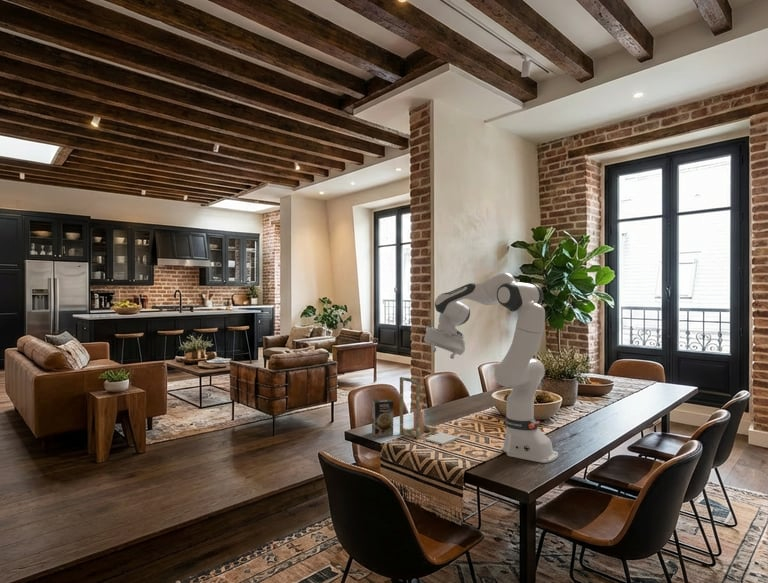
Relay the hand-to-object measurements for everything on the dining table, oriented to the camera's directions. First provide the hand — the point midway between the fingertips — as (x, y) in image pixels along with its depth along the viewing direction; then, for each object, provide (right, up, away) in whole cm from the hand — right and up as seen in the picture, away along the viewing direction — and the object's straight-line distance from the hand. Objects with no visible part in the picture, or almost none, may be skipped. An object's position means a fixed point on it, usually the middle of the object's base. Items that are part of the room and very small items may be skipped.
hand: (443, 354), depth 220 cm
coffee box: (-29, -38, 0) cm, 48 cm away
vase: (-11, -38, +2) cm, 39 cm away
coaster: (-2, -38, -8) cm, 39 cm away
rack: (-11, -38, +2) cm, 39 cm away
